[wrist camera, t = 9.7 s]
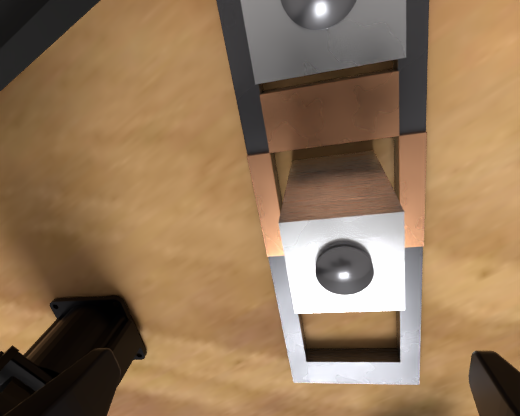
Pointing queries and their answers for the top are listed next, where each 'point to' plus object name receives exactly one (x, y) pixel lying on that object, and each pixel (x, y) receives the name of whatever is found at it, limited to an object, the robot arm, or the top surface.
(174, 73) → the top surface
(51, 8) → the tray
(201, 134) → the top surface
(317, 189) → the knobbed block
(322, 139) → the rail
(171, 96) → the top surface
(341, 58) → the grey metal block
